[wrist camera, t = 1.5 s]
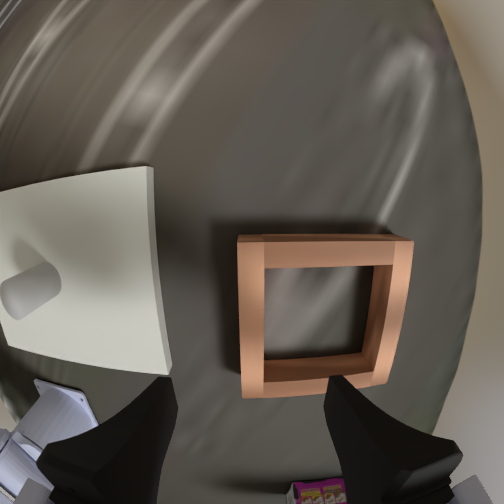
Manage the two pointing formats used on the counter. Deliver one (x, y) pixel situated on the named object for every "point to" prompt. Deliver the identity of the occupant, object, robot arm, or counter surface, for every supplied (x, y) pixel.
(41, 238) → the hook board
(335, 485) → the candy bar box
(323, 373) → the loop
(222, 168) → the counter surface
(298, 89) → the counter surface
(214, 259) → the counter surface
